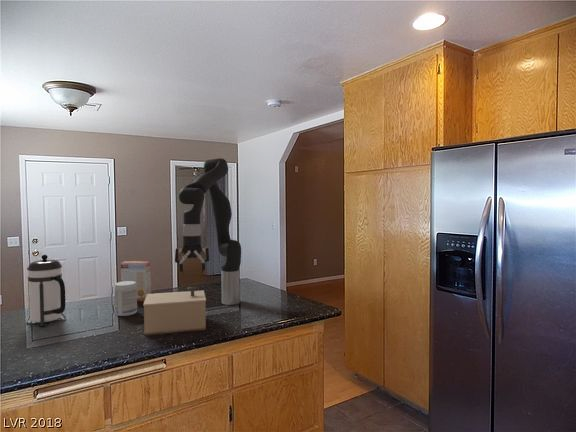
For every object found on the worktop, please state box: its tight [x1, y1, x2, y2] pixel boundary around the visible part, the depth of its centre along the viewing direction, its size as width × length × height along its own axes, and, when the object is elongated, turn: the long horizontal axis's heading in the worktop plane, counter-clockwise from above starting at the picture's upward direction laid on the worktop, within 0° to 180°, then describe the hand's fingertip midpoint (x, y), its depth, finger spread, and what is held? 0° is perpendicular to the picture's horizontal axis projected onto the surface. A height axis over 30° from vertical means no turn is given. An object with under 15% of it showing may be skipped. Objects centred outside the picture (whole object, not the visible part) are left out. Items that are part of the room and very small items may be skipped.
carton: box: [143, 301, 207, 336], centre depth 159 cm, size 24×16×12 cm, turn 106°
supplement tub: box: [114, 281, 138, 317], centre depth 175 cm, size 10×10×15 cm
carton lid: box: [142, 286, 207, 307], centre depth 158 cm, size 24×16×4 cm
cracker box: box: [120, 260, 152, 303], centre depth 198 cm, size 14×6×21 cm, turn 84°
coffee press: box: [25, 254, 67, 328], centre depth 163 cm, size 17×16×30 cm
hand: (192, 271), depth 160 cm, fingers open, 8 cm apart
